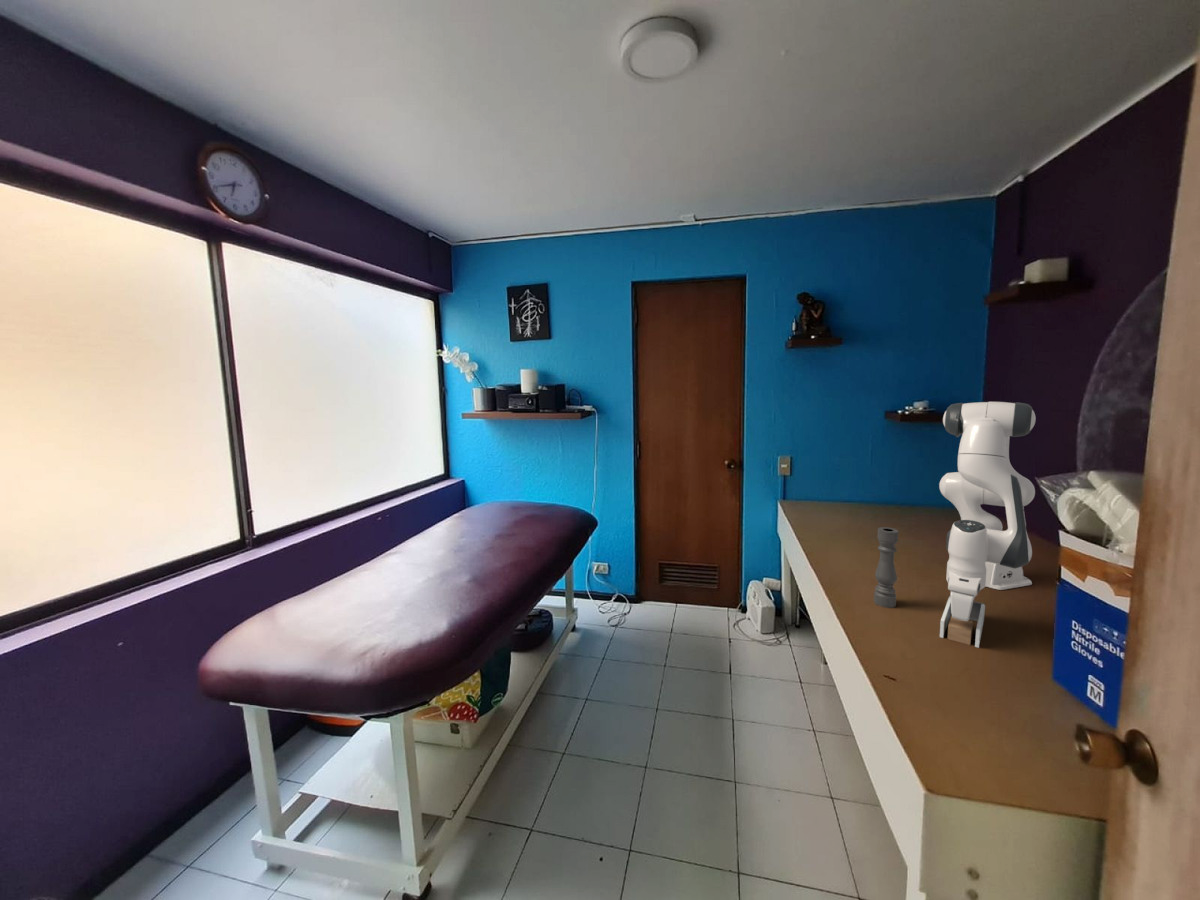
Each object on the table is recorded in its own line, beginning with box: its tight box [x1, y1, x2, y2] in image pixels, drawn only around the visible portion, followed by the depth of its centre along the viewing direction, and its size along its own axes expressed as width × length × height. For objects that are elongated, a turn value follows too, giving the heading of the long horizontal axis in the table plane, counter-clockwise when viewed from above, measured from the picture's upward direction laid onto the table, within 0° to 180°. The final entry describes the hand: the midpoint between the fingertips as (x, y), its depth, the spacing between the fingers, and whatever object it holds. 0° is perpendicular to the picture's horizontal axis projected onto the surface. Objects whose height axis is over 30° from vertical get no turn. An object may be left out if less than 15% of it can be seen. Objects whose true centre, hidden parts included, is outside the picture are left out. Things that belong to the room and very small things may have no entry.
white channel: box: [939, 595, 986, 648], centre depth 134 cm, size 20×9×5 cm, turn 137°
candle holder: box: [873, 526, 899, 609], centre depth 149 cm, size 6×6×25 cm
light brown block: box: [947, 615, 974, 646], centre depth 129 cm, size 7×5×4 cm
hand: (962, 622), depth 133 cm, fingers closed
